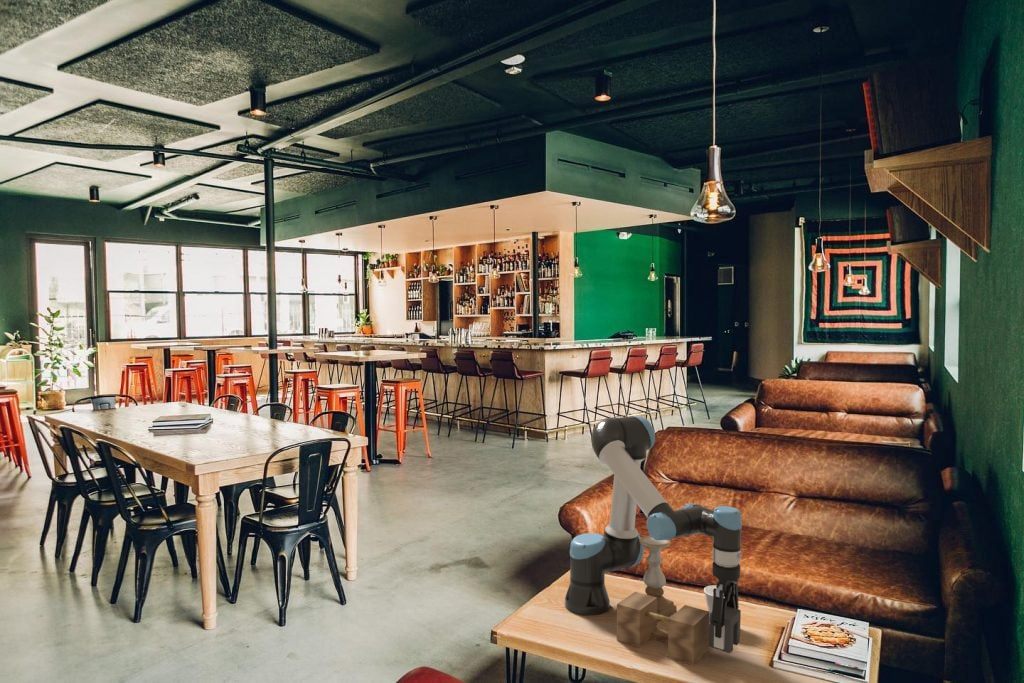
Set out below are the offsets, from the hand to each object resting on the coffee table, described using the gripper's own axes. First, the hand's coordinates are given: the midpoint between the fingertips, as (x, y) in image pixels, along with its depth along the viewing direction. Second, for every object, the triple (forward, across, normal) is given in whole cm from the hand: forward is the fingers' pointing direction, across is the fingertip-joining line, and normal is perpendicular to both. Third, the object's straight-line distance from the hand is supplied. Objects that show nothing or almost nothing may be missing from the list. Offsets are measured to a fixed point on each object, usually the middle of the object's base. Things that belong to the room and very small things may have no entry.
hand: (724, 641), depth 183 cm
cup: (+5, +20, +8) cm, 22 cm away
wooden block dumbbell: (+5, -3, +17) cm, 18 cm away
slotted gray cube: (+1, 0, 0) cm, 1 cm away
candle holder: (+6, +17, +29) cm, 34 cm away
